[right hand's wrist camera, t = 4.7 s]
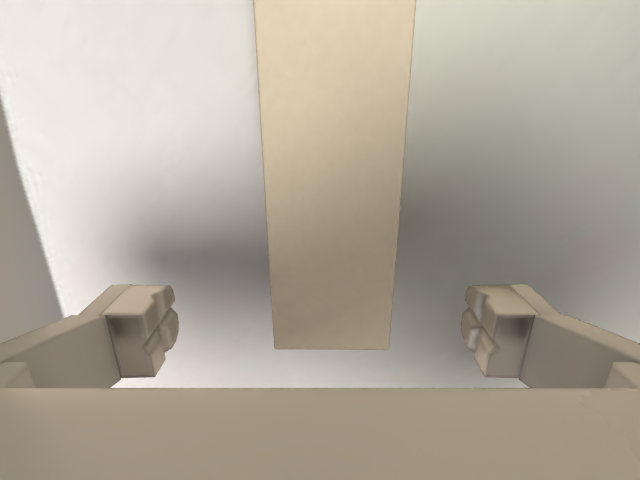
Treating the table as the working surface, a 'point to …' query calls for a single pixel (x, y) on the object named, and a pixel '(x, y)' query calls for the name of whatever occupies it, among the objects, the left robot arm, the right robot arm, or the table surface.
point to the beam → (333, 164)
